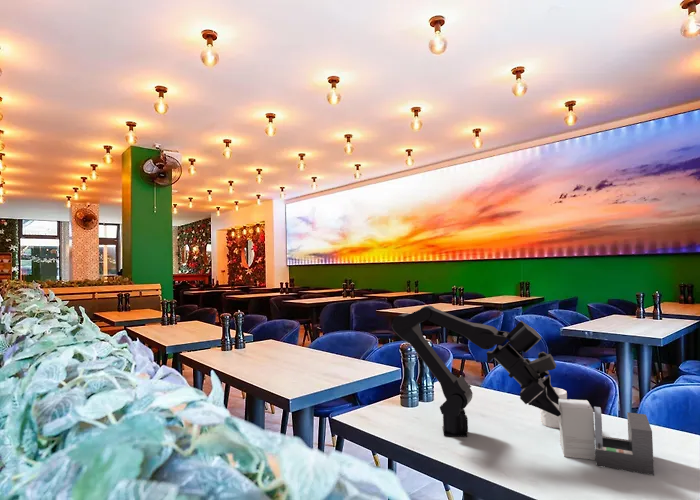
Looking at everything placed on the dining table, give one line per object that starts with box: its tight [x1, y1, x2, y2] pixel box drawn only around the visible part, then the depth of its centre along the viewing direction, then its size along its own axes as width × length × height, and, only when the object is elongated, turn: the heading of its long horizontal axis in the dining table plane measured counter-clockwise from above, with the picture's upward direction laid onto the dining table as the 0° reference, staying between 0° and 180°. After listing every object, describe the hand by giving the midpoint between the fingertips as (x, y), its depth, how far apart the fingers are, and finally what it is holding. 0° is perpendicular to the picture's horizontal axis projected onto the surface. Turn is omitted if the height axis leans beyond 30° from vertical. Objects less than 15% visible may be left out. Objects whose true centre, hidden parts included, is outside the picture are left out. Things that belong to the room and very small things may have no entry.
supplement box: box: [558, 398, 596, 461], centre depth 113 cm, size 7×7×13 cm
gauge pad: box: [593, 406, 603, 448], centre depth 110 cm, size 2×10×10 cm, turn 152°
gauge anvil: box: [595, 412, 655, 476], centre depth 108 cm, size 12×12×10 cm
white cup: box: [539, 386, 568, 429], centre depth 133 cm, size 8×8×10 cm
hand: (560, 409), depth 115 cm, fingers open, 9 cm apart
